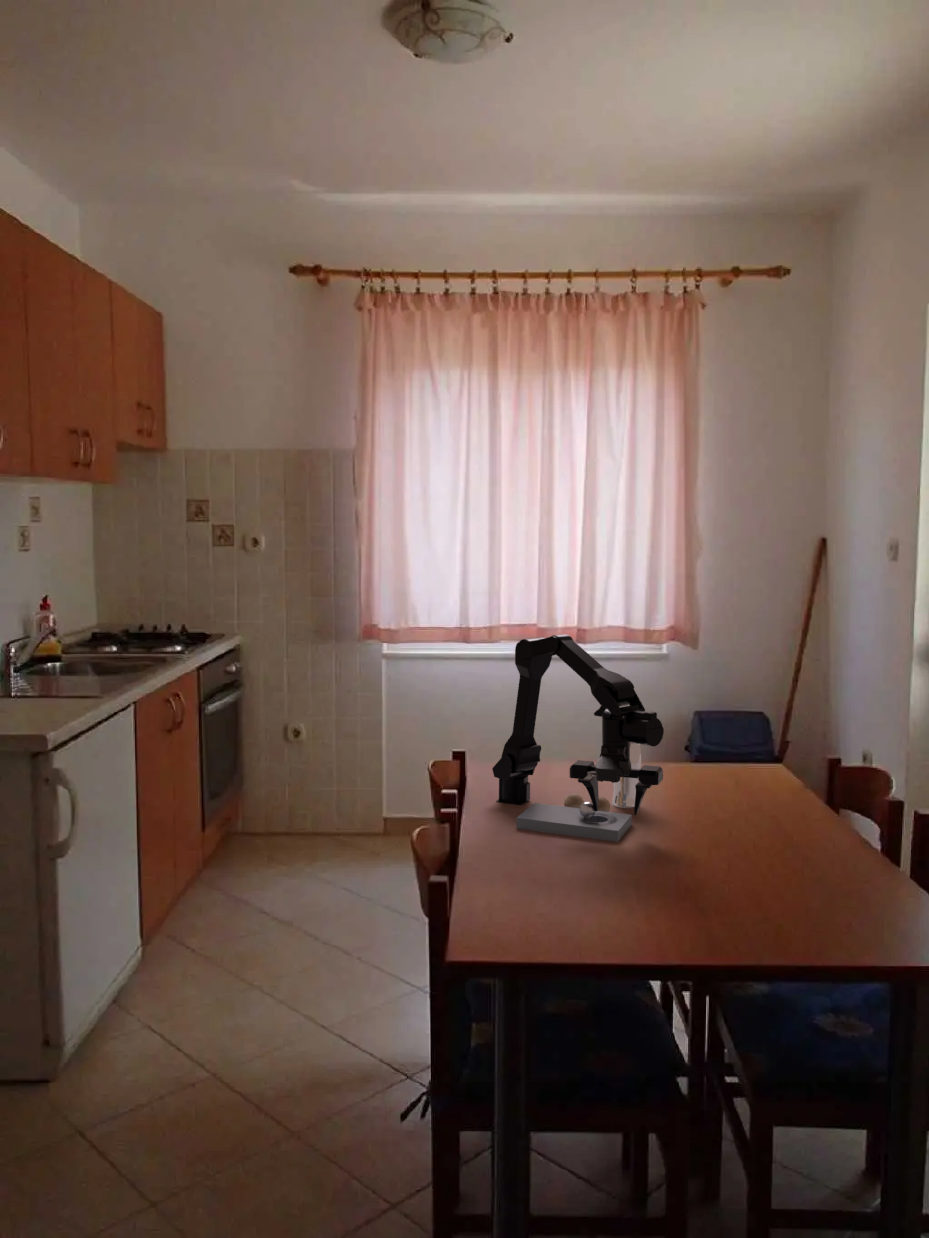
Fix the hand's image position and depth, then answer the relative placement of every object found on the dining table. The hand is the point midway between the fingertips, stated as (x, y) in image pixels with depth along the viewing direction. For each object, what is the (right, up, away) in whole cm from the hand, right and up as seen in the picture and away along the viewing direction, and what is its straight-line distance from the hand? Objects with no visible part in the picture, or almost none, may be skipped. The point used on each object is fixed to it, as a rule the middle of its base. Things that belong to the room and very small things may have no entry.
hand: (616, 812), depth 196 cm
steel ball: (-6, 0, +3) cm, 6 cm away
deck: (-8, -4, +4) cm, 10 cm away
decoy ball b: (-2, -1, +12) cm, 12 cm away
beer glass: (+5, -3, +21) cm, 22 cm away
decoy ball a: (-7, -1, +14) cm, 16 cm away
